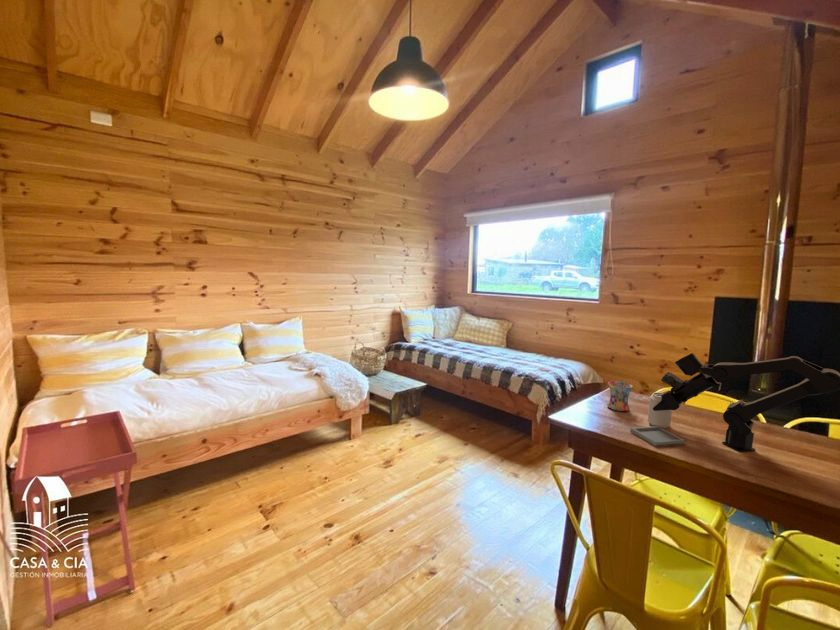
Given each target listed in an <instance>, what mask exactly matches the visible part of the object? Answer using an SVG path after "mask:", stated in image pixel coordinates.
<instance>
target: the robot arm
mask: <svg viewBox="0 0 840 630" xmlns="http://www.w3.org/2000/svg"><path fill="white" fill-rule="evenodd" d="M674 364H675V365H676V366H677V368H678V369H679V370H681V372H682V373H683V374H684V375H685V376H689V377H691V378H689V379H684V380H683V379H681V378H680V377H678V376H677V375H675V374H673V373H672V372H669V371H667V372H666V373H665V374H664V375H663V376H662V378H661V379H660V381H661V382H662V383H665V384H666V385H668V386H670V387H671V388H670V390H668V391H666V392H664V394H663V395H662V396H661V397H662V400H661V401H660V402H659V403H658V404H657V405H656V406H655V407H653V410H654V411H660V410H672V411H676V410H678V409H680V408H681V407H682V403H687V401H689V400H691V399H693V398H696V397H698V396H699V395H701V394H702V393H705V392H706V391H708V390H711V389H712V388H713V389H714V390H715V392H719V391H720V390H721V386H722V382H727V381H731V380H735V379H738V378H741V377H745V376H752V375H753V376H754V375H758V374H759V375H760V374H769V373H779V372H780V373H781V372H789V371H793V372H794V373H796V374H799V375H800V376H802V377H804V378H805V379H803V380H802V381H801V382H799V383H797V384H794V385H792V386H789V387H786V388H784V389H781V390H779V391H776V392H774V393H771V394H768V395H766V396H763V397H761V398H758V399H756V400H753V401H749V402H745V401H744V400H743V399H742V398H741V399H740V400H738V401H737V402H733V403H729V404H728V406H727V408H726V409H725V410H724V412H723V415H722V418H723V421H724V422H725V423H726V424H727V425H728V426H727V429H726V432H725V439H724V440H725V441H722V442H721V444H723V445H725V446H727V447H729V448H732V449H733V450H736V451H737V452H754V451H756V448H754V447H753V443H754V437H755V433H754V432H752V430H753V428H754V426H755V423H754V421H753V420H752V419H754V418H755V417H757V416H759V415H761V414H763V413H765V412H769V411H771V410H774V409H777V408H778V407H779V408H780V407H782V406H784V405H788V404H790V403H793V402H795V401H797V400H801V399H803V398H806V397H809V396H817V395H825V394H829V393H834V392H837V391H839V390H840V372H839V371H837V370H835V369H833V368H824V367H822V366H819V365H817V364H814V363H812V362H810V361H808V360H805V359H803V358H801V357H800V356H797V355H791V356H789V357H781V358H775V359H766V360H758V361H750V362H749V361H748V362H724V361H723V362H718V363H716V364H712V363H711V364H709V363H704V364H703V363H702V362H701V361H700V360H699V358H698V357H697V356H696V355H695V353H694V352H691V353H689V354H687V355H686V356H683V357H681V358H680V359H678V360H676V361H674ZM697 373H699V374H697ZM696 374H697V375H696ZM694 375H695V376H694Z"/></svg>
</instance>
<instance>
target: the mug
mask: <svg viewBox="0 0 840 630" xmlns="http://www.w3.org/2000/svg"><path fill="white" fill-rule="evenodd" d="M607 384H608V387H609V393H610V394H609V395H610V396H609V400H608V402H607V404H606V405H607V407H608V408H610V409H612V410H614V411H617V412H627V411H629V410H630V406H629V396H630V393H631V391H632V389H633V387H634V386H633V385H632V384H630V383H627V382H624V381H616V380H613V381H612V380H611V381H608V382H607Z"/></svg>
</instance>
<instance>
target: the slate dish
mask: <svg viewBox="0 0 840 630" xmlns="http://www.w3.org/2000/svg"><path fill="white" fill-rule="evenodd" d="M630 433H631V434H633V435H635V436H637V437H638V438H640V439H642V440H644V441H645V442H646V443H649V444H650V445H651V446H654V447H655V448H657V447H669V446H683V445H685V443H686V439H684V438H682V437H679V436H678V435H676V434H674V433H673V432H670V431H668V430H666V429H665V428H661V427H659V426H641V427H630Z"/></svg>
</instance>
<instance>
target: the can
mask: <svg viewBox="0 0 840 630" xmlns="http://www.w3.org/2000/svg"><path fill="white" fill-rule="evenodd" d="M664 393H665V392H664ZM664 393H663V392H653V393H652V395H650V397H649V403H648V413H647V422H648V423H649V424H650V425H651V427H653V426H659V427H661V428H663V429H667V428H669V427H670V426H671V423H672V414H673V410H660V411H654V410H653V407H655V406H656V405H657V404H658V403H659V402H660V401H661V400H662V397H661V396H662V395H663V394H664Z"/></svg>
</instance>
